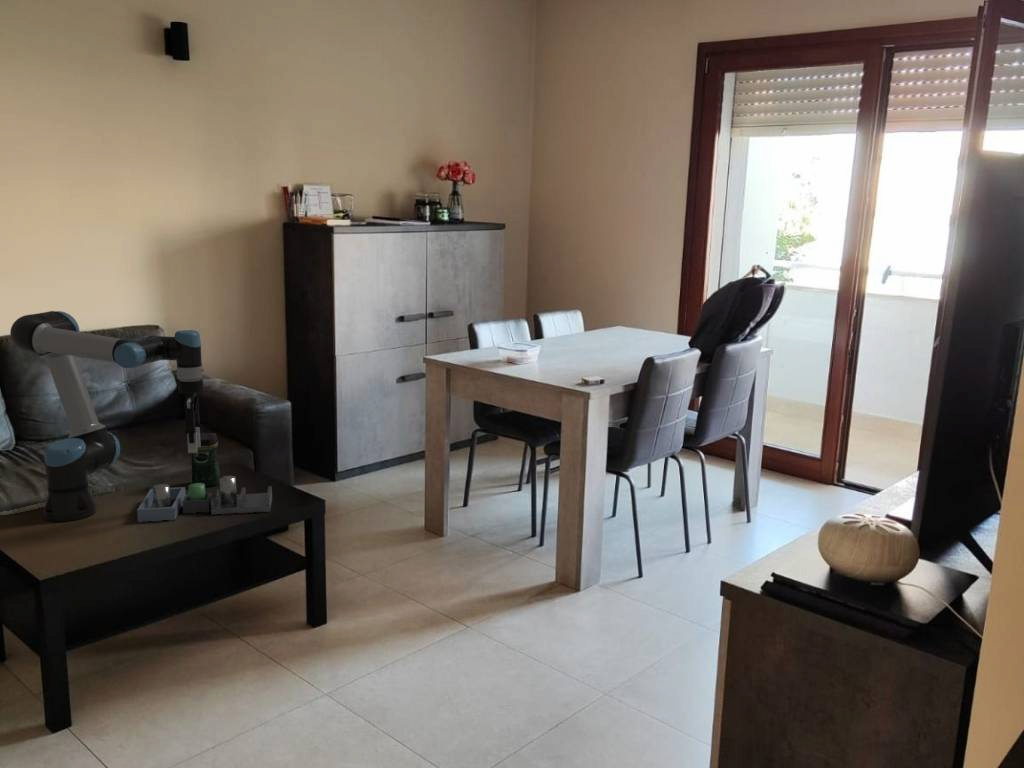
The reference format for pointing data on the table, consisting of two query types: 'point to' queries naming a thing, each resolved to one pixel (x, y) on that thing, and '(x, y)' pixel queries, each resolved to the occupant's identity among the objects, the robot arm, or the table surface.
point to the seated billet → (228, 489)
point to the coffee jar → (206, 461)
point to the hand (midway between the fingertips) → (194, 449)
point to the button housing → (197, 504)
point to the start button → (197, 491)
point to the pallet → (242, 503)
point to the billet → (161, 496)
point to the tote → (161, 513)
